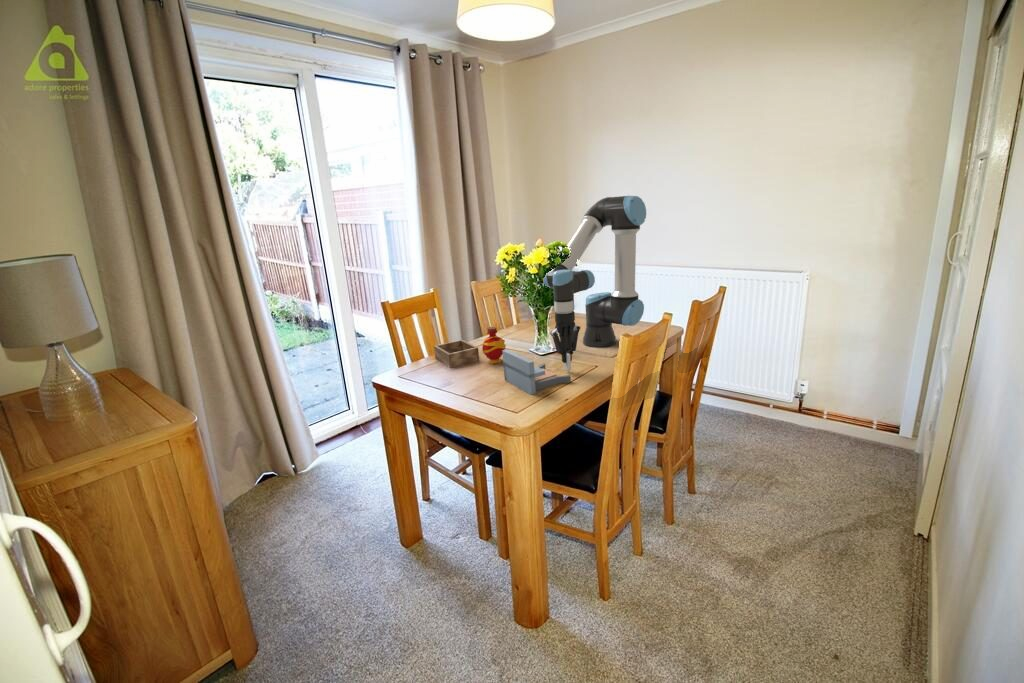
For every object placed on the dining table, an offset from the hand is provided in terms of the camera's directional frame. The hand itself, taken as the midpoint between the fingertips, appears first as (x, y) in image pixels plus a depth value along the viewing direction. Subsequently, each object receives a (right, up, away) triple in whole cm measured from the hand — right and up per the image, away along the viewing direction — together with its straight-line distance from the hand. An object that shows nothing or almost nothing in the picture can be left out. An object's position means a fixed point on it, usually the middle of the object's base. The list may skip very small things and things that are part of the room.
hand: (567, 369), depth 187 cm
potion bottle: (-29, +2, +20) cm, 35 cm away
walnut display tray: (-46, +3, +26) cm, 53 cm away
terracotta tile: (-12, -5, -6) cm, 15 cm away
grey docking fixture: (-12, -4, -6) cm, 14 cm away
